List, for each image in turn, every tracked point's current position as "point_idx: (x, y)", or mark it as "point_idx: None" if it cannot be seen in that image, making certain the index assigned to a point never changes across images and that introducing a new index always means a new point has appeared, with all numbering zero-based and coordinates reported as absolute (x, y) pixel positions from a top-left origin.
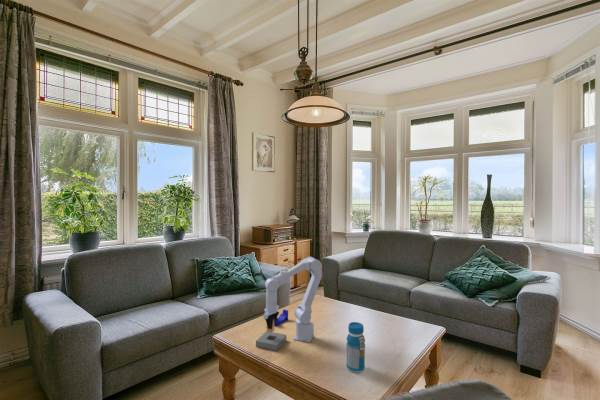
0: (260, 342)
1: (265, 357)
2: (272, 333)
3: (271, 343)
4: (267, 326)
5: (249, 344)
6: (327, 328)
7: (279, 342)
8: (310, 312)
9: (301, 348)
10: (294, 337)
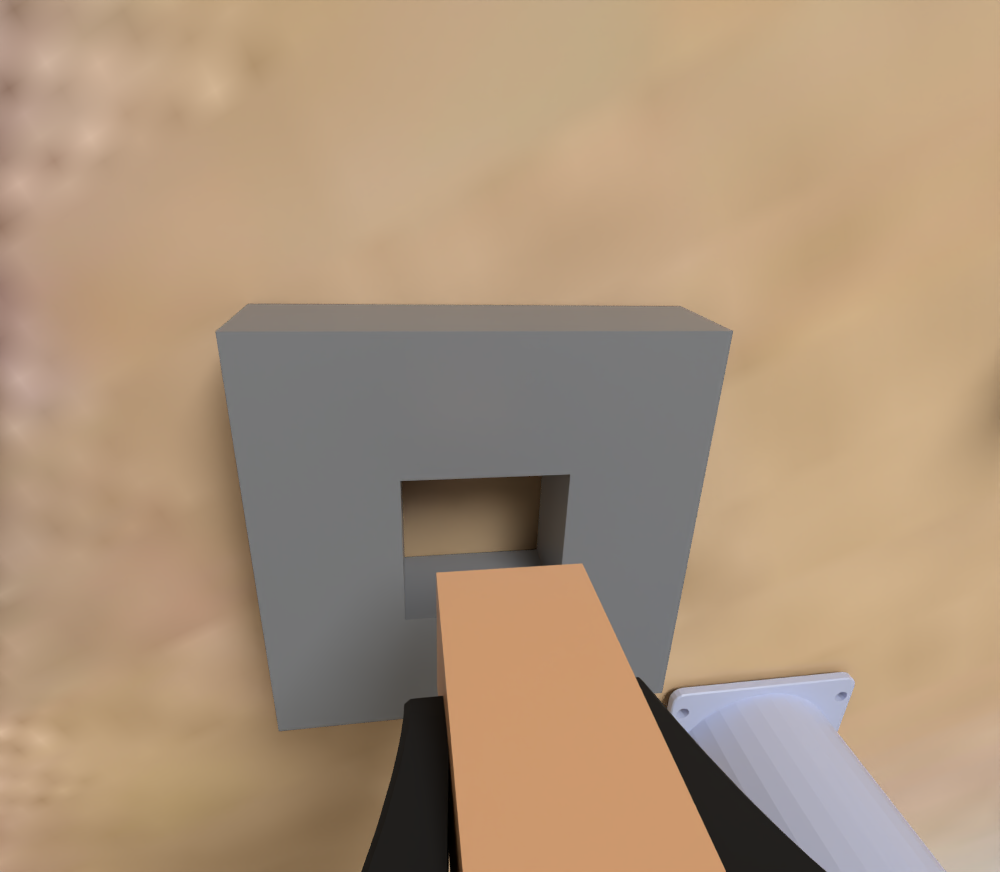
0: (236, 440)
1: (36, 609)
2: (654, 489)
3: (286, 642)
4: (404, 742)
5: (261, 121)
6: (976, 837)
7: (382, 720)
8: None
9: None
10: (705, 699)
